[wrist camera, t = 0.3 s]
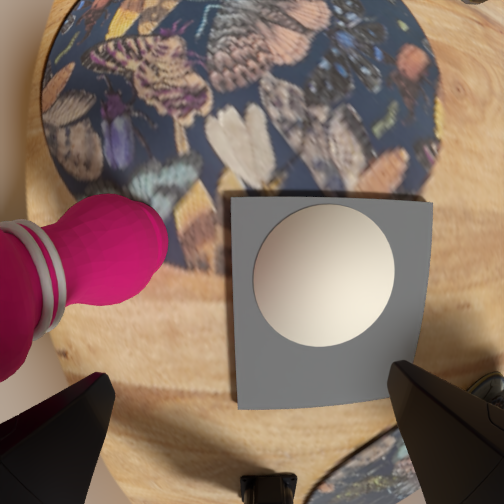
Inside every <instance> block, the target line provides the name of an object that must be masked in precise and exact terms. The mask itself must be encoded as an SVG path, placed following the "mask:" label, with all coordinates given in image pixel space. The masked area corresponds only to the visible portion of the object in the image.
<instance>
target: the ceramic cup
mask: <svg viewBox="0 0 504 504" xmlns="http://www.w3.org/2000/svg"><path fill="white" fill-rule="evenodd" d="M461 1H463V2H464V3H466V4H475V5H476V4H480V3H483V2H485V1H487V0H461Z"/></svg>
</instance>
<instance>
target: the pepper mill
mask: <svg viewBox="0 0 504 504" xmlns="http://www.w3.org/2000/svg"><path fill="white" fill-rule="evenodd" d="M167 250H168V234H167V230H166V227H165V225H164V223H163V220H162V219H161V217H160V216H159V215H158V213H157V212H156V211H155V210H154V209H153V208H151V207H150V206H148V205H146V204H144V203H142V202H138V201H132V200H130V199H128V198H126V197H124V196H121V195H117V194H99V195H93V196H90V197H87V198H85V199H83V200H81V201H79V202H78V203H76V204H74V205H73V206H72V207H71V208H69V209H68V210H67V211H66V213H65V214H64V215H63V216H62V217H61V218H60V219H59V220H58V221H57V222H56V223H54V224H51V225H47V226H44V227H39V226H38V225H36V224H35V223H33V222H31V221H28V220H25V219H18V220H14V221H11V222H10V221H3V222H0V382H2V381H4V380H6V379H7V378H8V377H10V376H11V375H13V374H14V373H15V372H16V371H17V370H18V369H19V368H20V367H21V365H22V364H23V363H24V362H25V359H26V357H27V354H28V352H29V349H30V347H31V345H32V341H35V340H37V339H39V338H41V337H42V336H43V335H44V334H45V333H46V332H49V331H51V330H52V329H54V328H55V327H56V326H57V325H58V323H59V322H60V320H61V318H62V316H63V313H64V310H65V307H66V306H68V305H70V304H76V303H80V304H88V305H96V306H105V305H113V304H118V303H121V302H123V301H125V300H128V299H130V298H132V297H133V296H135V295H137V294H138V293H139V292H140V291H142V290H143V289H144V288H145V286H146V285H147V284H148V282H149V281H150V279H151V277H152V275H153V274H154V273H155V272H156V271H157V270H158V269H159V268H160V266H161V265H162V263H163V261H164V259H165V257H166V254H167Z"/></svg>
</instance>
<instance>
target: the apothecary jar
mask: <svg viewBox="0 0 504 504" xmlns="http://www.w3.org/2000/svg"><path fill="white" fill-rule="evenodd" d="M467 392H468V393H470V394H472V395H474V396H476V397H478V398H480V399H482V400H484V401H486V403H487V402H488V403H490V404H492V405H494V406H496V407H499V408H501V409H503V410H504V377H503V375H502V374H501V373H499V372H493V373H489V374H487V375H486V376H484V377H483V378H481V379H480V380H478V381H477V382H476V383H475V384H474V385H473V386H472V387H471V388H470V389H469V390H468V391H467Z"/></svg>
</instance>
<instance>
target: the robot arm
mask: <svg viewBox="0 0 504 504" xmlns="http://www.w3.org/2000/svg"><path fill="white" fill-rule="evenodd" d="M387 389H388V392H389V396H390V399H391V403H392V406H393V410H394V414H395V417H396V421H397V424H398V427H399V430H400V433H401V435H402V438H403V440H404V443H405V445H406V448H407V451H408V453H409V456H410V459H411V461H412V464H413V467H414V469H415V472H416V475H417V478H418V480H419V483H420V486H421V489H422V492H423V495H424V498H425V501H426V504H504V410H503V409H501V408H499V407H496V406H494V405H492V404H490V403H488V402H487V403H486V401H484V400H482V399H480V398H478V397H476V396H474V395H472V394H470V393H468V392H466V391H464V390H462V389H460V388H459V387H457V386H455V385H453V384H451V383H449V382H447V381H445V380H443V379H441V378H439V377H437V376H435V375H433V374H431V373H429V372H428V371H426V370H424V369H422V368H420V367H418V366H416V365H414V364H412V363H410V362H409V361H407V360H398V361H394V362H393V363H392V364H391V367H390V371H389V375H388V379H387ZM114 401H115V391H114V388H113V386H112V384H111V381H110V379H109V377H108V375H107V374H106V373H101V372H94V373H92V374H91V375H89V376H87V377H85V378H84V379H82V380H80V381H78V382H77V383H75V384H73V385H71V386H69V387H68V388H66V389H64V390H62V391H61V392H59V393H57V394H55V395H53V396H52V397H50V398H48V399H46V400H44V401H43V402H41V403H39V404H37V405H35V406H33V407H31V408H30V409H28V410H26V411H24V412H22V413H20V414H19V415H17V416H15V417H13V418H11V419H9V420H7V421H5V422H3V423H1V424H0V504H84V503H85V499H86V495H87V492H88V489H89V486H90V482H91V479H92V476H93V472H94V470H95V466H96V463H97V460H98V457H99V454H100V451H101V448H102V445H103V443H104V440H105V437H106V433H107V430H108V425H109V421H110V417H111V413H112V409H113V405H114ZM240 483H241V495H242V502H244V504H293V499H294V494H295V489H296V483H297V476H296V475H280V476H242V477H241V478H240Z"/></svg>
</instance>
